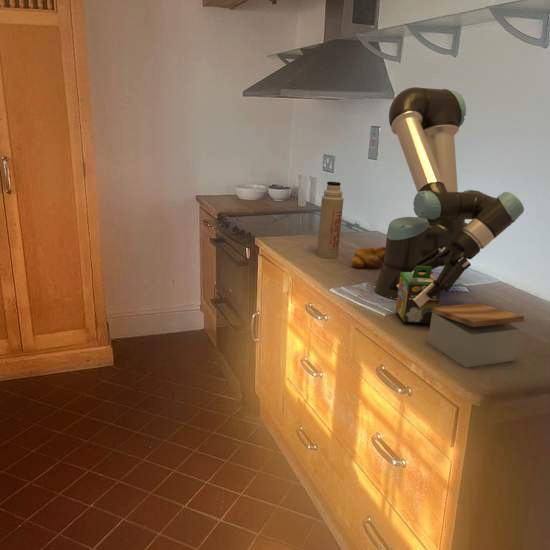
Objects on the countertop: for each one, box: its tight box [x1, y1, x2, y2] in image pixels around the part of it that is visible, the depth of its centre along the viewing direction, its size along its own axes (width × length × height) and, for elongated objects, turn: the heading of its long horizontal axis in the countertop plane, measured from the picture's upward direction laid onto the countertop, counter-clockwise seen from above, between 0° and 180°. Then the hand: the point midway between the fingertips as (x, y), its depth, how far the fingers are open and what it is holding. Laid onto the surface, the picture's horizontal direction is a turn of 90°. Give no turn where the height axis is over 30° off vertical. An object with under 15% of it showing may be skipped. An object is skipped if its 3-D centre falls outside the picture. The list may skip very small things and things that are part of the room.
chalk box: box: [395, 266, 442, 324], centre depth 148 cm, size 9×9×15 cm
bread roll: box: [351, 246, 386, 270], centre depth 198 cm, size 13×10×8 cm
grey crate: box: [427, 313, 521, 368], centre depth 131 cm, size 14×14×8 cm
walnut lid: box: [431, 302, 525, 327], centre depth 130 cm, size 15×14×1 cm
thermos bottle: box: [316, 181, 344, 260], centre depth 206 cm, size 8×8×28 cm
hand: (407, 296), depth 148 cm, fingers closed on chalk box, 10 cm apart
